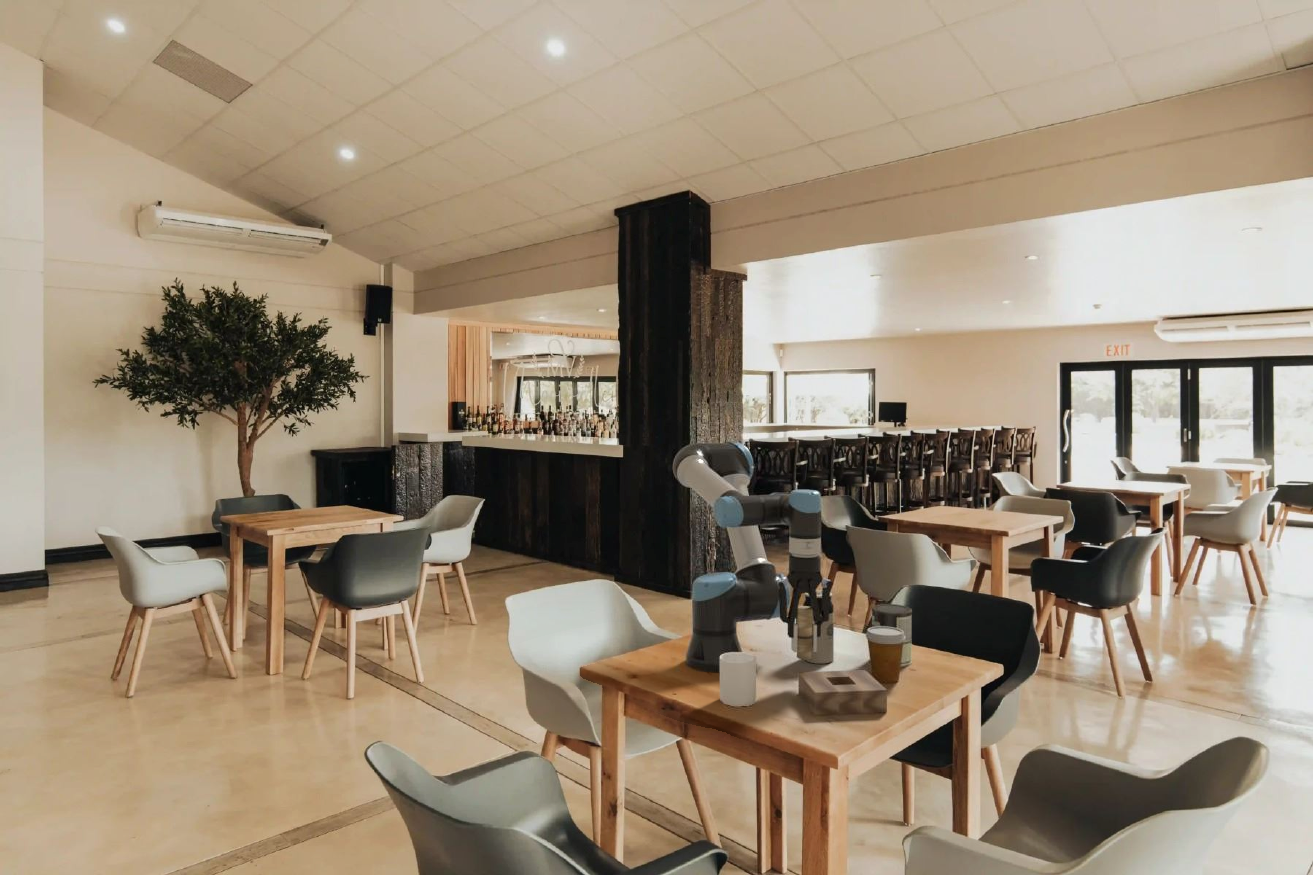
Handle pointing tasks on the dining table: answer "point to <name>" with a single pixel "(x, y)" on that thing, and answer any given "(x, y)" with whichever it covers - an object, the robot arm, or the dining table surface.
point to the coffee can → (895, 624)
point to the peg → (804, 631)
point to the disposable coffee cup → (885, 652)
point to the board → (842, 692)
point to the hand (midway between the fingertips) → (803, 649)
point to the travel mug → (823, 634)
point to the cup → (738, 678)
